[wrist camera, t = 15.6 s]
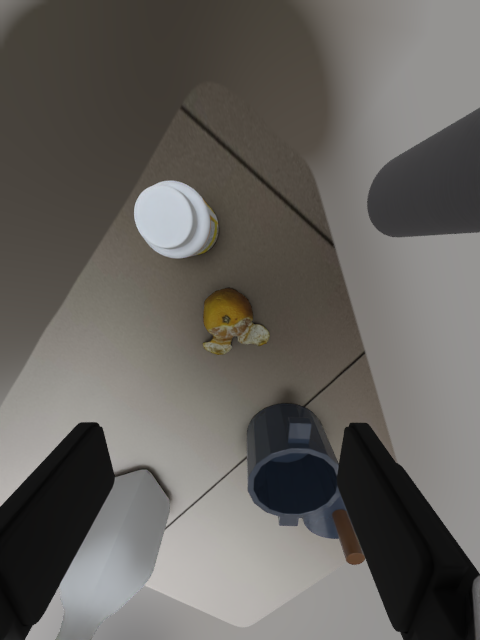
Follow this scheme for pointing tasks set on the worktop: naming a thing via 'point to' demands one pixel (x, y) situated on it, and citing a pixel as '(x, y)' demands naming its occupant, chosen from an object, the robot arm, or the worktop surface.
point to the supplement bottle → (175, 220)
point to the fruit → (231, 321)
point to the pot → (290, 463)
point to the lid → (337, 529)
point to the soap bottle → (114, 554)
